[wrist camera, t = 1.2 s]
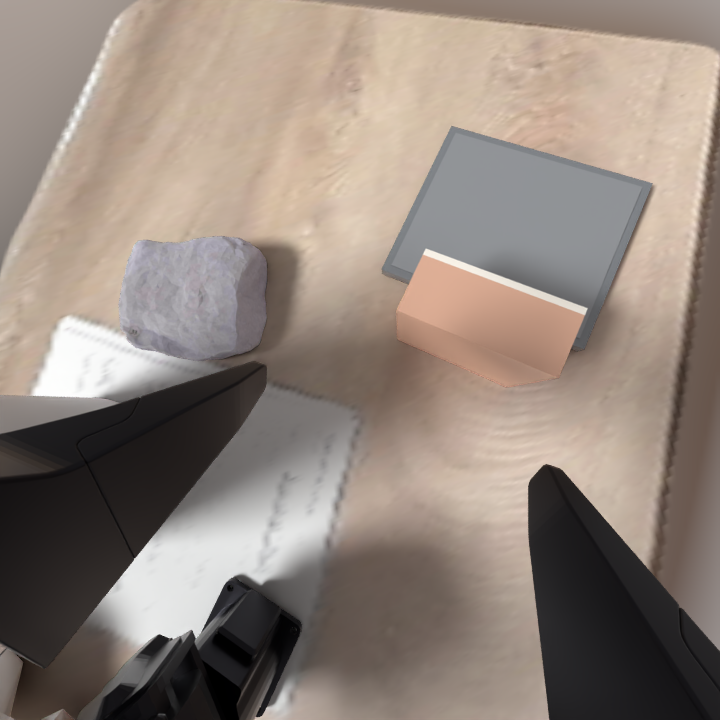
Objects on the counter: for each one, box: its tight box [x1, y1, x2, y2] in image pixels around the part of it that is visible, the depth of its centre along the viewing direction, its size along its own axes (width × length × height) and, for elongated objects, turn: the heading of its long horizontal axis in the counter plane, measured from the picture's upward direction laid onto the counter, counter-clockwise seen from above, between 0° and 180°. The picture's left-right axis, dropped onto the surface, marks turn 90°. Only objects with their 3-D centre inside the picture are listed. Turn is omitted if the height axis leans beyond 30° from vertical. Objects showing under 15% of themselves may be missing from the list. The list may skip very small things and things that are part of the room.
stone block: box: [119, 236, 267, 361], centre depth 26 cm, size 12×5×10 cm
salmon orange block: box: [396, 249, 588, 387], centre depth 20 cm, size 4×9×8 cm, turn 64°
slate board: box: [382, 126, 653, 351], centre depth 24 cm, size 14×16×1 cm
